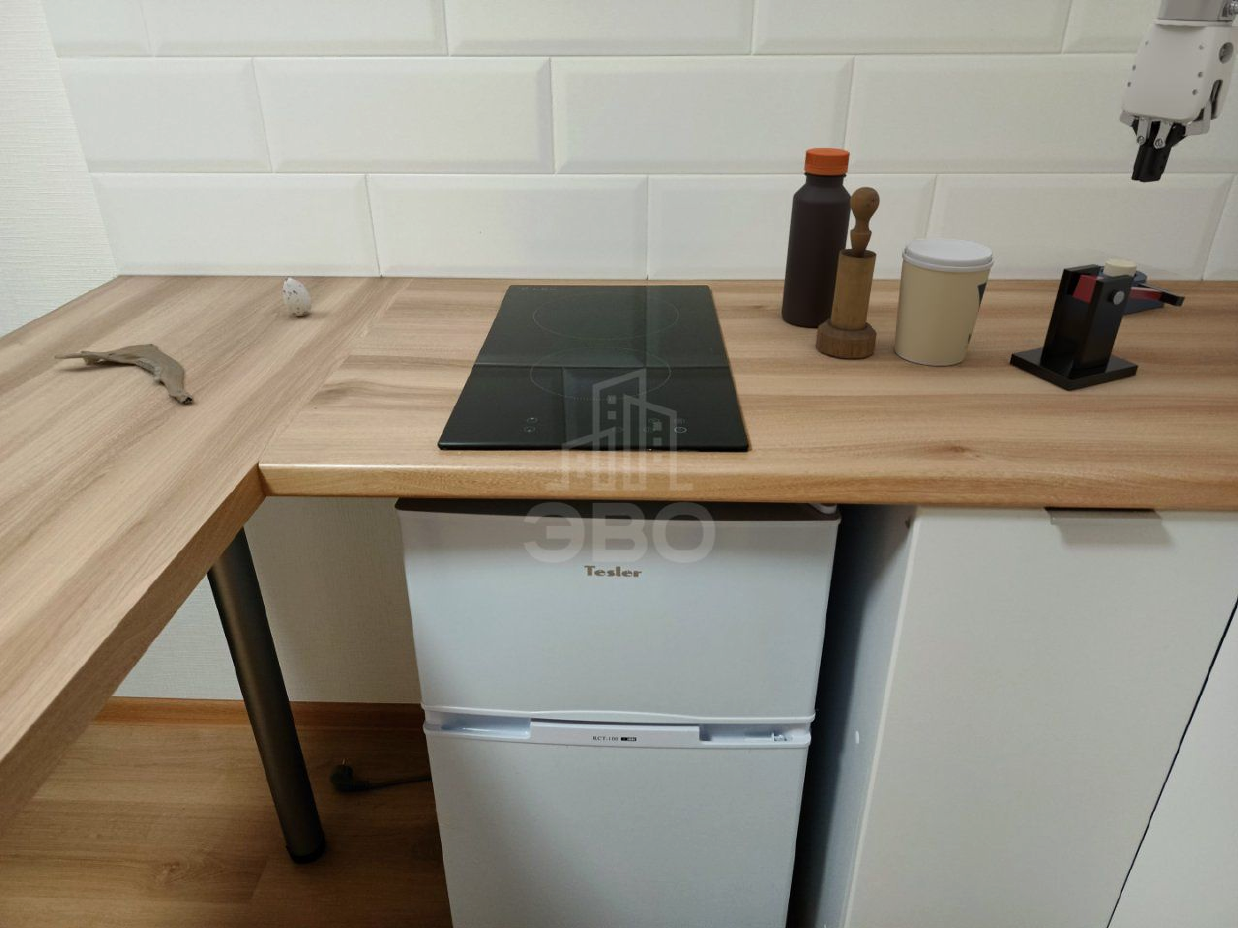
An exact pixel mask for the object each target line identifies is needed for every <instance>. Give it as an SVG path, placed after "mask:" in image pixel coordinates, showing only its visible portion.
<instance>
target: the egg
mask: <svg viewBox="0 0 1238 928" xmlns="http://www.w3.org/2000/svg"><path fill="white" fill-rule="evenodd" d="M282 297H283V302H284V306H285V308H286V309H287V311H289V313H291V314H292V315H293V316H298V317H303V316H306V315H308V314H309V313H310V311H311V309H312V304H313V303H312V298H311V295H310V294H309V291H308V290H307V288H306V287H305V286H304V285H303V284H302V283H301V282H300V281H298V280H295V279H294V278H292V277H290V276H289V277H286V278H285V280H284V281H283V287H282Z"/></svg>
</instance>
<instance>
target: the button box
mask: <svg viewBox="0 0 1238 928" xmlns="http://www.w3.org/2000/svg"><path fill="white" fill-rule="evenodd" d="M1100 266H1101V269H1100V272H1099V277H1102V278H1109V277H1112V276H1108V275H1105V274H1103V270H1104V266H1105V265H1100ZM1147 279H1148V275H1147V274H1146V273H1144V272H1143V271H1139V270H1138V269H1136V271H1135V274H1134V281H1133V284H1132V287H1137V285H1138V284H1139V283H1140V284H1146V285H1149V286H1153V287H1156V288H1159V289H1162V290H1165V291H1168V292H1169V290H1168V289H1165V288H1161V287H1158V286H1156V285H1152V284H1149V283H1147ZM1164 306H1165V303H1164V302H1161V301H1158V300H1147V299H1134V298H1128V301H1127V304H1126V307H1125V310H1124V314H1123V316H1124V315H1129V314H1134V313H1138V312H1143V311H1148V310H1154V309H1159V308H1163V307H1164Z"/></svg>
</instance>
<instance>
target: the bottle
mask: <svg viewBox="0 0 1238 928" xmlns="http://www.w3.org/2000/svg"><path fill="white" fill-rule="evenodd" d="M850 157H851V153H850V151H849V150H845V149H842V148H833V147H814V148H808V149H807V150H806V151H805V158H804V166H803V171H804V173H803V176H805V183H804V184H803V185H802V186H800V188H799V189H798V190H797V191H796V192H795V193H794V194H793V195H792V201H791V202H792V203H791V212H790V213H791V214H790V222H789V223H790V224H789V231H788V233H789V234H788V244H787V254H786V263H785V273H784V281H783V282H784V283H783V293H782V302H781V318H782V319H783V320H784V321H785V322H787V323H789V324H791V325H794V326H798V327H804V328H818V327H819V325H820V324H822V323H824V322H825V321H826V320H828V319H830V318H831V315H832V308H833V300H834V293H835V286H836V278H837V270H838V261H839V253H840V251H841V250H844V249H847V243H848V242H847V241H848V235H849V227H850V221H851V220H850V219H851V214H852V213H851V212H852V209H851V206H850V200H851V196H852V195H851V194H850V193H849V191H848V190H847V189H846V187H845V186H844V181H845V178H847V173H848V171H849V164H850Z"/></svg>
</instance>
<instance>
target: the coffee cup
mask: <svg viewBox="0 0 1238 928" xmlns="http://www.w3.org/2000/svg"><path fill="white" fill-rule="evenodd" d="M993 255H994V253H993V251H992V249H991V248H989V247H988V246H985V245H983V244H981V243H977V242H976V241H975V242H974V241H969V240H966V239H965V240H964V239H958V238H949V237H926V238H918V239H914V240H911V241H909V242H908V243H906V246H905V248H903V250H902V253H901V257H902V262H901V263H902V265H901V272H900V274H901V275H900V281H899V292H898V303H897V313H896V323H895V333H894V352H895V354H896V355H897V356H898V357H900V358H902V359H904V360H906V361H909V362H912V363H915V364H920V365H925V366H934V367H945V366H946V367H947V366H954V365H957V364H959V363H961V362H963V361H964V359H965V358H966V354H967V351H968V349H969V345H970V342H971V340H972V339H971V338H972V335H973V333H974V329H975V325H976V322H977V319H978V315H979V312H980V309H981V308H980V307H981V304H982V301H983V297H984V294H985V291H986V288H987V283H988V279H989V276H990V272H991V268H992V267H993V266H994V263H995V257H994V256H993Z"/></svg>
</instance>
